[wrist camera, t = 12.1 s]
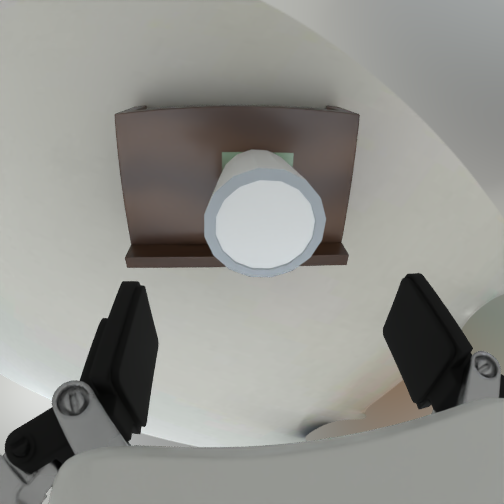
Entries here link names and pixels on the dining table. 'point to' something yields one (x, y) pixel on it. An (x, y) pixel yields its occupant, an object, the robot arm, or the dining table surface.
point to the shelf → (212, 164)
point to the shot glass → (263, 216)
